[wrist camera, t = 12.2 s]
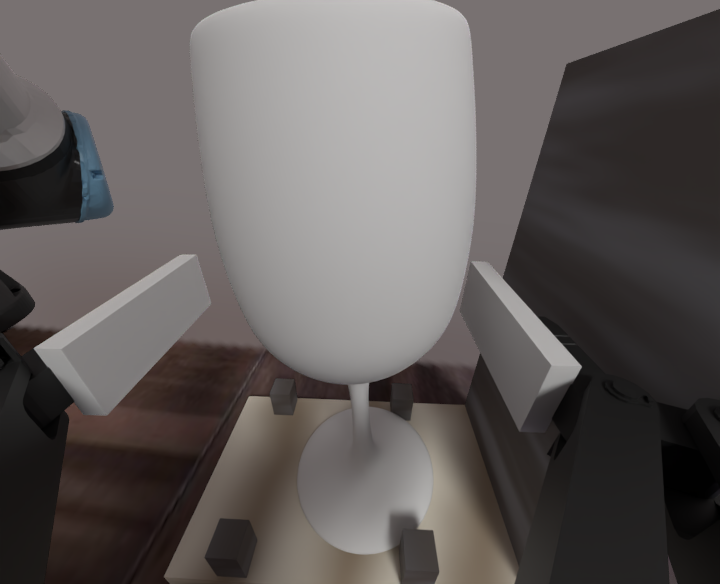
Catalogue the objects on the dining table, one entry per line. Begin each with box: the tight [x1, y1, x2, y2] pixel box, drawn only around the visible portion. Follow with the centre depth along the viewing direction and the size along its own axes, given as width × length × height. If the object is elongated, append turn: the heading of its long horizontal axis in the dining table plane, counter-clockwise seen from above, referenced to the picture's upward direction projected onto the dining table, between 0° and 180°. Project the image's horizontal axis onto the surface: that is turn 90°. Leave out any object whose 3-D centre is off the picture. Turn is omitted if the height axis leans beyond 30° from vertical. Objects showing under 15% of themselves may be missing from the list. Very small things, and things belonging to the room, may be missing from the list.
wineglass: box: [190, 0, 476, 555], centre depth 13 cm, size 9×9×21 cm
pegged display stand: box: [164, 9, 720, 584], centre depth 13 cm, size 20×11×23 cm, turn 88°
